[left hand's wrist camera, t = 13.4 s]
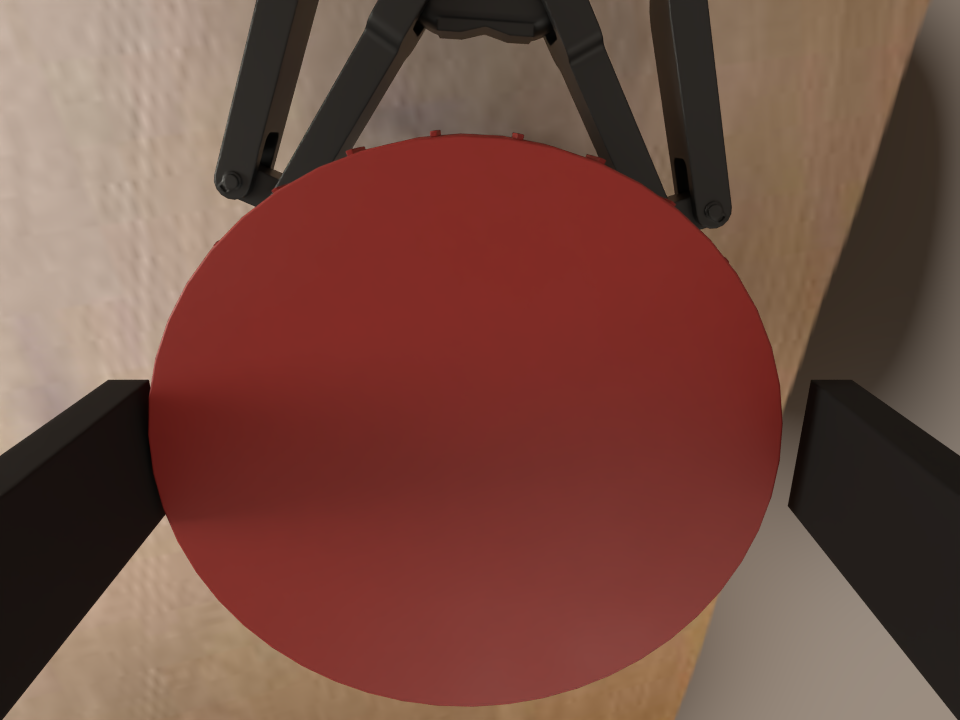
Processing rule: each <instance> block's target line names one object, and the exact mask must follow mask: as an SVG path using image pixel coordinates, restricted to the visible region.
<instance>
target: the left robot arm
mask: <svg viewBox="0 0 960 720" xmlns="http://www.w3.org/2000/svg"><path fill="white" fill-rule="evenodd" d="M149 394H150V383H149V380H107V381H106V382H105V383H103V384H102V385H100V386H99V387H98V388H96V389H95V390H93V391H92V392H90V393H89V394H88V395H86V396H85V397H83V398H82V399H80V400H79V401H78V402H76V403H75V404H73V405H72V406H70V407H69V408H68V409H66V410H65V411H63V412H62V413H61V414H59V415H58V416H56V417H55V418H53V419H52V420H51V421H49V422H48V423H46V424H45V425H43V426H42V427H41V428H39V429H38V430H36V431H35V432H33V433H32V434H31V435H29V436H28V437H26V438H25V439H24V440H22V441H21V442H19V443H18V444H16V445H15V446H14V447H12V448H11V449H9V450H8V451H6V452H5V453H4V454H2V455H1V456H0V720H2V719H3V718H4V717H5V716H6V714H7V713H8V712H9V711H10V709H11V708H12V707H13V706H14V704H15V703H16V702H17V701H18V699H19V698H20V697H21V696H22V694H23V693H24V692H25V691H26V689H27V688H28V687H29V685H30V684H31V683H32V682H33V680H34V679H35V678H36V677H37V675H38V674H39V673H40V672H41V670H42V669H43V668H44V667H45V665H46V664H47V663H48V662H49V660H50V659H51V658H52V657H53V655H54V654H55V653H56V652H57V650H58V649H59V648H60V646H61V645H62V644H63V643H64V641H65V640H66V639H67V638H68V636H69V635H70V634H71V633H72V631H73V630H74V629H75V628H76V626H77V625H78V624H79V623H80V621H81V620H82V619H83V618H84V616H85V615H86V614H87V613H88V611H89V610H90V609H91V607H92V606H93V605H94V604H95V602H96V601H97V600H98V599H99V597H100V596H101V595H102V594H103V592H104V591H105V590H106V589H107V587H108V586H109V585H110V584H111V582H112V581H113V580H114V579H115V577H116V576H117V575H118V574H119V572H120V571H121V570H122V568H123V567H124V566H125V565H126V563H127V562H128V561H129V560H130V558H131V557H132V556H133V555H134V553H135V552H136V551H137V550H138V548H139V547H140V546H141V545H142V543H143V542H144V541H145V540H146V538H147V537H148V536H149V534H150V533H151V532H152V531H153V529H154V528H155V527H156V526H157V524H158V523H159V522H160V521H161V519H162V518H163V517H164V516H165V511H164V509H163V506H162V502H161V499H160V495H159V492H158V488H157V485H156V481H155V478H154V474H153V468H152V460H151V453H150V445H149V437H148V422H149ZM788 507H789V508H790V509H791V511H792V512H793V513H794V514H795V516H796V517H797V518H798V519H799V521H800V522H801V523H802V524H803V526H804V527H805V528H806V529H807V531H808V532H809V533H810V534H811V536H812V537H813V538H814V540H815V541H816V542H817V543H818V545H819V546H820V547H821V548H822V550H823V551H824V552H825V553H826V555H827V556H828V557H829V558H830V560H831V561H832V562H833V563H834V565H835V566H836V567H837V568H838V570H839V571H840V572H841V574H842V575H843V576H844V577H845V579H846V580H847V581H848V582H849V584H850V585H851V586H852V587H853V589H854V590H855V591H856V592H857V594H858V595H859V596H860V597H861V599H862V600H863V601H864V602H865V604H866V605H867V606H868V607H869V609H870V610H871V611H872V612H873V614H874V615H875V616H876V618H877V619H878V620H879V621H880V623H881V624H882V625H883V626H884V628H885V629H886V630H887V631H888V633H889V634H890V635H891V636H892V638H893V639H894V640H895V641H896V643H897V644H898V645H899V646H900V648H901V649H902V650H903V652H904V653H905V654H906V655H907V657H908V658H909V659H910V660H911V662H912V663H913V664H914V665H915V667H916V668H917V669H918V670H919V672H920V673H921V674H922V675H923V677H924V678H925V679H926V680H927V682H928V683H929V684H930V685H931V687H932V688H933V689H934V691H935V692H936V693H937V694H938V696H939V697H940V698H941V699H942V700H943V702H944V703H945V704H946V706H947V707H948V708H949V709H950V711H951V712H952V713H953V714H954V716H955V717H956V718H957V719H958V720H960V456H959V455H958V454H956V453H955V452H954V451H952V450H951V449H949V448H948V447H946V446H945V445H944V444H942V443H941V442H939V441H938V440H936V439H935V438H934V437H932V436H931V435H929V434H928V433H927V432H925V431H924V430H922V429H921V428H919V427H918V426H917V425H915V424H914V423H912V422H911V421H909V420H908V419H907V418H905V417H904V416H902V415H901V414H899V413H898V412H897V411H895V410H894V409H892V408H891V407H890V406H888V405H887V404H885V403H884V402H882V401H881V400H880V399H878V398H877V397H875V396H874V395H872V394H871V393H870V392H868V391H867V390H865V389H864V388H862V387H861V386H860V385H858V384H857V383H855V382H854V381H852V380H811V383H810V388H809V394H808V399H807V405H806V410H805V416H804V421H803V426H802V432H801V437H800V443H799V448H798V454H797V459H796V464H795V470H794V475H793V481H792V486H791V492H790V497H789V503H788Z"/></svg>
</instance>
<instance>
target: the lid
mask: <svg viewBox="0 0 960 720" xmlns="http://www.w3.org/2000/svg"><path fill="white" fill-rule="evenodd" d="M523 138H524V135H523V134H518V133H513V134H512V138H511V137H506V136H497V135H478V134H450V135H441V131H440V130H435V131H430V136H427V137H418V138H413V139H409V140H405V141H400V142H396V143H391V144H387V145H383V146H378V147H374V148H370V149H365V147H364V146H363V147H359V148H354V149H350V150H347V151H346V154H347V157H344V158H341V159H339V160H336V161H333V162H331V163H328V164H326V165H323V166H320V167H318V168H316V169H314V170H313V171H311V172H309V173H307V174H305V175H304V176H302V177H300V178H298V179H297V180H295V181H293V182H291V183H288V184H285V185H282V186H279V187H276V188H274V189H273V190H272V192H273V194H272V195H271V196H269V197H268V198H267V199H265V200H264V201H263V202H261V203H260V204H259V205H257V206H256V207H255V208H254V209H252V210H251V211H250V212H248V213H247V214H246V215H244V216H243V217H242V218H241V219H240V220H239V221H238V222H237V223H236V224H235V225H234V226H233V227H232V228H231V229H230V230H229V231H228V232H227V233H226V234H225V235H224V236H223V237H222V238H221V239H220V240H219V241H217V242H216V243H215V244H214V247H213V248H212V249H211V250H210V251H209V253H208V254H207V256H206V257H205V258H204V260H203V261H202V263H201V264H200V265H199V267H198V268H197V270H196V271H195V272H194V274H193V275H192V277H191V278H190V279H189V281H188V282H187V284H186V286H185V288H184V290H183V292H182V294H181V295H180V297H179V299H178V301H177V303H176V305H175V307H174V309H173V311H172V313H171V315H170V317H169V319H168V322H167V325H166V328H165V331H164V334H163V337H162V340H161V343H160V346H159V349H158V352H157V355H156V358H155V364H154V370H153V376H152V382H151V388H150V394H149V422H148V437H149V445H150V453H151V460H152V468H153V474H154V478H155V481H156V485H157V488H158V492H159V495H160V499H161V502H162V506H163V509H164V511H165V514H166V516H167V518H168V521H169V523H170V525H171V527H172V530H173V532H174V534H175V537H176V539H177V541H178V543H179V545H180V546H181V548H182V550H183V551H184V553H185V555H186V556H187V558H188V559H189V561H190V563H191V564H192V566H193V568H194V569H195V571H196V573H197V574H198V575H199V576H200V578H201V579H202V580H203V581H204V583H205V584H206V585H207V586H208V588H209V589H210V590H211V592H212V593H213V594H214V595H215V597H216V598H217V599H218V600H219V601H220V602H221V603H222V604H223V605H224V606H225V607H226V608H227V609H228V610H229V611H230V612H231V613H232V614H233V615H234V616H235V617H236V618H237V619H238V620H239V621H240V622H241V623H242V624H243V625H244V626H245V627H247V628H248V629H249V630H250V631H252V632H253V633H254V634H256V635H257V636H258V637H259V638H261V639H262V640H263V641H265V642H266V643H267V644H268V645H270V646H271V647H272V648H274V649H276V650H277V651H279V652H280V653H282V654H284V655H285V656H287V657H289V658H290V659H292V660H293V661H295V662H297V663H298V664H300V665H302V666H304V667H306V668H308V669H310V670H312V671H314V672H316V673H318V674H321V675H323V676H325V677H327V678H329V679H331V680H333V681H336V682H338V683H341V684H344V685H347V686H350V687H353V688H356V689H359V690H361V691H364V692H367V693H371V694H375V695H380V696H384V697H388V698H392V699H396V700H401V701H407V702H415V703H422V704H430V705H437V706H470V707H474V706H488V705H503V704H512V703H518V702H523V701H529V700H535V699H541V698H545V697H549V696H552V695H556V694H559V693H563V692H567V691H570V690H574V689H577V688H580V687H582V686H585V685H587V684H590V683H592V682H595V681H597V680H600V679H602V678H605V677H607V676H610V675H612V674H614V673H616V672H618V671H619V670H621V669H623V668H625V667H627V666H629V665H631V664H633V663H635V662H637V661H639V660H640V659H642V658H644V657H645V656H647V655H648V654H649V653H651V652H652V651H654V650H655V649H657V648H658V647H660V646H661V645H663V644H664V643H666V642H667V641H669V640H670V639H671V638H673V637H674V636H675V635H676V634H677V633H678V632H680V631H681V630H682V629H683V628H684V627H685V626H687V625H688V624H689V623H690V622H691V621H692V620H694V619H695V618H696V617H697V616H698V615H699V614H700V613H701V612H702V611H703V610H704V609H705V607H706V606H707V605H708V604H709V603H710V602H711V601H712V600H713V599H714V598H715V597H716V596H717V594H718V593H719V592H720V591H721V590H722V589H723V587H724V586H725V584H726V583H727V582H728V580H729V579H730V577H731V576H732V575H733V573H734V572H735V570H736V569H737V568H738V566H739V565H740V564H741V562H742V560H743V559H744V557H745V555H746V553H747V551H748V549H749V547H750V546H751V544H752V542H753V540H754V538H755V536H756V534H757V533H758V531H759V528H760V526H761V523H762V520H763V518H764V515H765V512H766V510H767V507H768V504H769V502H770V499H771V496H772V492H773V488H774V483H775V479H776V474H777V470H778V465H779V461H780V449H781V436H782V424H783V423H782V408H781V393H780V383H779V378H778V374H777V369H776V365H775V360H774V356H773V351H772V347H771V344H770V342H769V339H768V336H767V334H766V331H765V328H764V326H763V323H762V321H761V318H760V315H759V313H758V310H757V308H756V306H755V305H754V303H753V301H752V299H751V298H750V296H749V294H748V292H747V291H746V289H745V287H744V285H743V284H742V282H741V280H740V278H739V277H738V275H737V273H736V272H735V271H734V269H733V268H732V267H731V266H730V264H729V261H728V260H727V258H725V257H723V255H722V254H721V253H720V252H719V250H718V249H717V248H716V246H715V245H714V244H713V243H712V241H711V240H710V239H709V238H708V237H707V236H706V235H705V234H704V233H703V232H702V231H700V230H699V229H698V228H697V227H696V226H695V225H694V224H693V223H692V222H691V221H690V220H689V219H688V218H687V217H686V216H685V215H684V214H682V213H681V212H680V211H679V210H678V209H677V208H675V205H676V204H675V203H674V202H673V201H671V200H668V199H666V198H663V197H661V196H658V195H657V194H655V193H654V192H653V191H651V190H650V189H648V188H647V187H646V186H644V185H643V184H641V183H639V182H637V181H635V180H633V179H631V178H630V177H628V176H626V175H624V174H622V173H620V172H618V171H616V170H614V169H612V168H610V167H608V166H606V165H604V164H605V162H606V160H605V159H602V158H599V157H596V156H592V155H588V154H587V155H586V157H583V156H580V155H577V154H574V153H571V152H568V151H565V150H562V149H559V148H556V147H553V146H550V145H546V144H542V143H537V142H532V141H527V140H523Z"/></svg>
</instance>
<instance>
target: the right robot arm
mask: <svg viewBox="0 0 960 720" xmlns="http://www.w3.org/2000/svg"><path fill="white" fill-rule="evenodd" d="M318 1H319V0H256V4H255V9H254V13H253V17H252V21H251V25H250V29H249V34H248V38H247V42H246V46H245V50H244V54H243V58H242V63H241V67H240V71H239V75H238V79H237V83H236V87H235V92H234V96H233V100H232V104H231V108H230V112H229V117H228V121H227V125H226V129H225V133H224V137H223V141H222V146H221V150H220V154H219V158H218V162H217V166H216V170H215V175H214V183H215V186H216V189H217V190H218V191H219V192H220V194H221V195H223V196H224V197H226V198H228V199H234V200H235V199H239V200H241V201H244V202H246V203H248V204H251V205H253V206H255V207H256V206H257V205H259V204H260V203H261V202H263V201H264V200H265V199H267V198H268V197H269V196H271V195H272V194H273V192H272V190H273V189H274V188H276V187H279V186H282V185H285V184H288V183H291V182H293V181H295V180H297V179H298V178H300V177H302V176H304V175H305V174H307V173H309V172H311V171H313V170H314V169H316V168H318V167H320V166H323V165H326V164H328V163H331V162H333V161H336V160H339V159H341V158H344V157H347V154H346V151H347V150H350V149H352V148H353V146H354V144H355V143H356V141H357V139H358V138H359V136H360V134H361V133H362V131H363V129H364V128H365V126H366V124H367V123H368V121H369V119H370V117H371V116H372V114H373V112H374V111H375V109H376V107H377V106H378V104H379V102H380V101H381V99H382V97H383V96H384V94H385V92H386V91H387V89H388V87H389V86H390V84H391V82H392V81H393V79H394V77H395V76H396V74H397V72H398V71H399V69H400V67H401V66H402V64H403V62H404V61H405V59H406V58H407V57H408V56H409V55H410V53H411V52H412V51H413V49H414V47H415V46H416V44H417V42H418V41H419V39H420V37H421V36H422V34H423V32H424V31H425V29H428V30H429V31H431V32H433V33H435V34H437V35H439V37H440V38H446V39H461V40H462V39H466V38H471V37H475V36H480V35H488V36H490V37H493V38H496V39H499V40H501V41H504V42H507V43H519V44H529V43H530V42H531V41H534V40H537V39H540V38H542V37H544V40H545V42H546V44H547V46H548V49H549V51H550V53H551V55H552V58H553V60H554V62H555V63H556V65H557V67H558V68H559V69H560V71H561V73H562V75H563V78H564V80H565V82H566V84H567V87H568V89H569V91H570V93H571V96H572V98H573V100H574V102H575V105H576V107H577V109H578V111H579V114H580V116H581V118H582V120H583V123H584V125H585V127H586V129H587V132H588V134H589V136H590V139H591V141H592V143H593V145H594V148H595V150H596V152H597V154H598V157H599V158H602V159H605V160H606V162H605V164H604V165H606V166H608V167H610V168H612V169H614V170H616V171H618V172H620V173H622V174H624V175H626V176H628V177H630V178H631V179H633V180H635V181H637V182H639V183H641V184H643V185H644V186H646V187H647V188H648V189H650V190H651V191H653V192H654V193H655V194H657V195H658V196H661V197H663V198H666V199H668V200H671V201H673V202H674V203H675V204H676V205H675V208H677V209H678V210H679V211H680V212H681V213H682V214H684V215H685V216H686V217H687V218H688V219H689V220H690V221H691V222H692V223H693V224H694V225H695V226H696V227H697V228H698V229H699V230H700V229H704V228H710V229H711V228H718V227H720V226H723V225H724V224H725V223H726V222H727V221H728V219H729V217H730V215H731V209H732V206H731V197H730V189H729V180H728V171H727V163H726V154H725V146H724V137H723V129H722V120H721V112H720V103H719V94H718V86H717V77H716V69H715V60H714V52H713V43H712V35H711V26H710V17H709V9H708V0H650V23H651V31H652V38H653V45H654V52H655V59H656V66H657V73H658V80H659V87H660V94H661V101H662V108H663V114H664V121H665V128H666V135H667V142H668V149H669V156H670V163H671V170H672V177H673V184H674V191H675V195H672V196H669V197H667V196H666V193H665V191H664V189H663V186H662V184H661V181H660V179H659V177H658V174H657V172H656V169H655V167H654V165H653V162H652V160H651V157H650V155H649V153H648V150H647V148H646V145H645V143H644V141H643V138H642V136H641V134H640V131H639V129H638V126H637V124H636V122H635V119H634V117H633V114H632V112H631V110H630V107H629V105H628V102H627V100H626V98H625V95H624V93H623V90H622V88H621V86H620V83H619V81H618V78H617V76H616V74H615V71H614V69H613V66H612V64H611V62H610V59H609V57H608V55H607V52H606V50H605V47H604V43H603V36H602V32H601V29H600V27H599V24H598V22H597V19H596V17H595V14H594V12H593V10H592V7H591V5H590V2H589V0H378V1H377V3H376V5H375V7H374V8H373V10H372V12H371V14H370V16H369V18H368V21H367V25H366V28H365V30H364V32H363V34H362V36H361V38H360V39H359V41H358V43H357V45H356V46H355V48H354V50H353V52H352V53H351V55H350V57H349V59H348V60H347V62H346V64H345V66H344V67H343V69H342V71H341V73H340V74H339V76H338V78H337V80H336V81H335V83H334V85H333V87H332V88H331V90H330V92H329V93H328V95H327V97H326V99H325V100H324V102H323V104H322V106H321V107H320V109H319V111H318V113H317V114H316V116H315V118H314V120H313V121H312V123H311V125H310V127H309V128H308V130H307V132H306V134H305V135H304V137H303V139H302V141H301V142H300V144H299V146H298V148H297V149H296V151H295V153H294V155H293V156H292V158H291V160H290V162H289V163H288V165H287V167H286V169H285V170H284V172H283V173H280V172H278V171H276V170H274V165H275V161H276V158H277V154H278V150H279V146H280V143H281V139H282V135H283V132H284V128H285V124H286V120H287V117H288V113H289V109H290V106H291V102H292V98H293V94H294V91H295V87H296V83H297V79H298V76H299V72H300V68H301V65H302V61H303V57H304V53H305V50H306V46H307V42H308V39H309V35H310V31H311V27H312V24H313V20H314V16H315V13H316V9H317V5H318Z"/></svg>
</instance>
